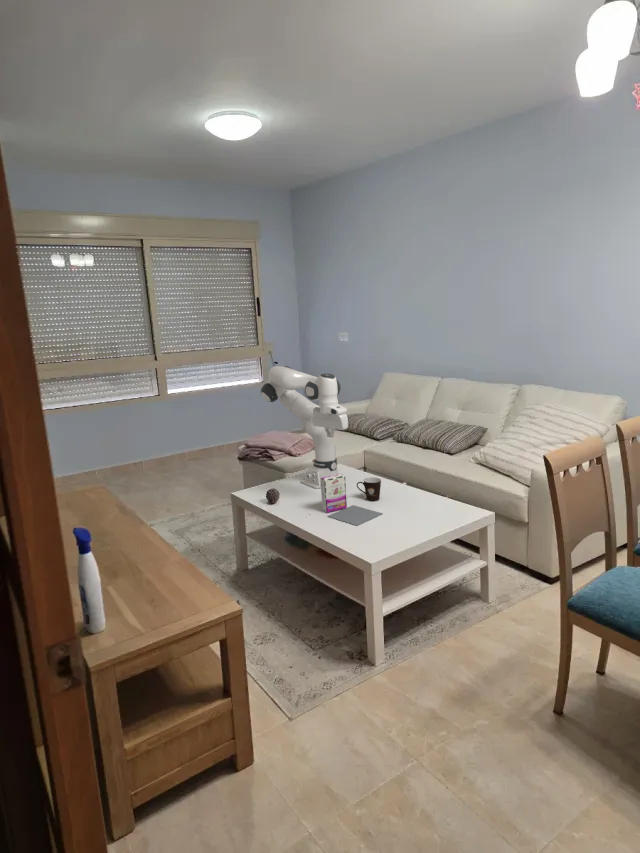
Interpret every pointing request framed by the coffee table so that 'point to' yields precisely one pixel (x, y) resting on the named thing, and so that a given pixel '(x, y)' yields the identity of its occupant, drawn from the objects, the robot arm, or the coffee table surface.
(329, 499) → the candy bar box
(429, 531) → the coffee table surface
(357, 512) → the mat
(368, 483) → the coffee mug
